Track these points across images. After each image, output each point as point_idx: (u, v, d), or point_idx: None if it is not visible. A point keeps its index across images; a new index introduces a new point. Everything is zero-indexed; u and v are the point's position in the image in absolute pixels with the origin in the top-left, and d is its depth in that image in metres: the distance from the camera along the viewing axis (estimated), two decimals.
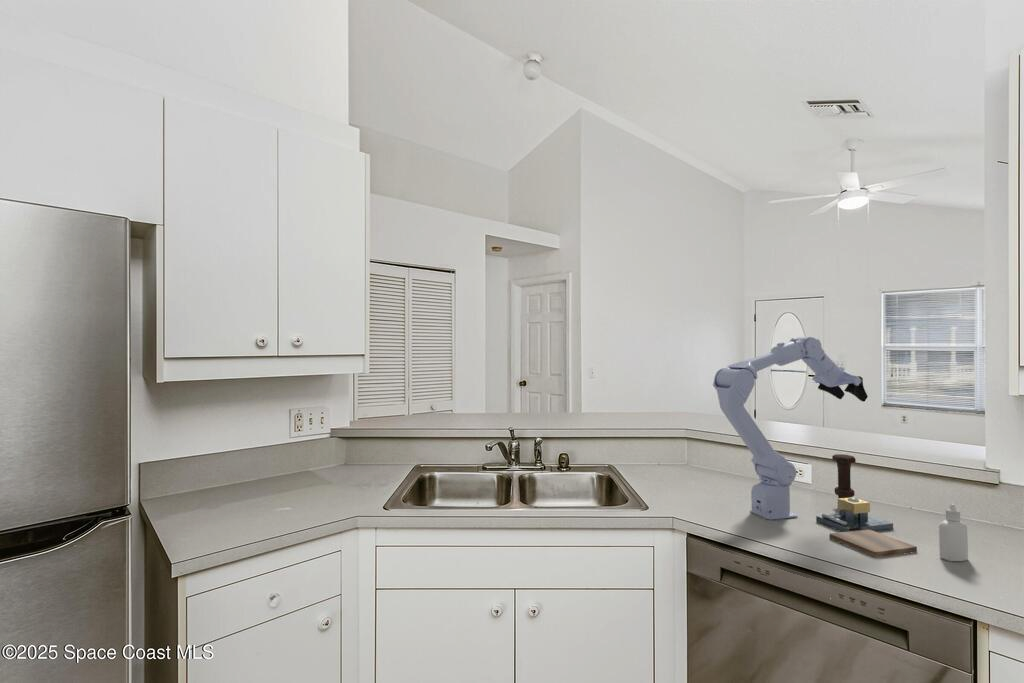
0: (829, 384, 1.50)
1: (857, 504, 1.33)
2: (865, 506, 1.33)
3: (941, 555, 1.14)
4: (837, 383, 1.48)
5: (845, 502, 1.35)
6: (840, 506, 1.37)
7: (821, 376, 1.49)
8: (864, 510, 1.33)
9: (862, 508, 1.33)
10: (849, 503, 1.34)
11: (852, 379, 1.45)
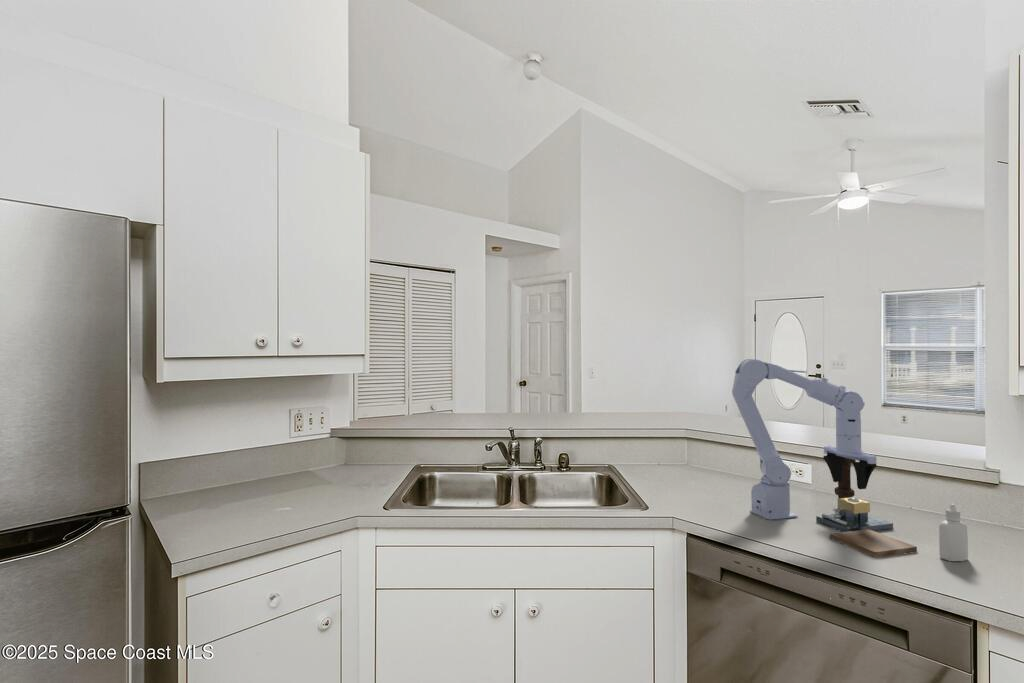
0: (841, 450, 1.39)
1: (857, 504, 1.33)
2: (865, 506, 1.33)
3: (941, 555, 1.14)
4: (850, 453, 1.37)
5: (845, 502, 1.35)
6: (840, 506, 1.37)
7: (841, 437, 1.39)
8: (864, 510, 1.33)
9: (862, 508, 1.33)
10: (849, 503, 1.34)
11: (868, 456, 1.34)
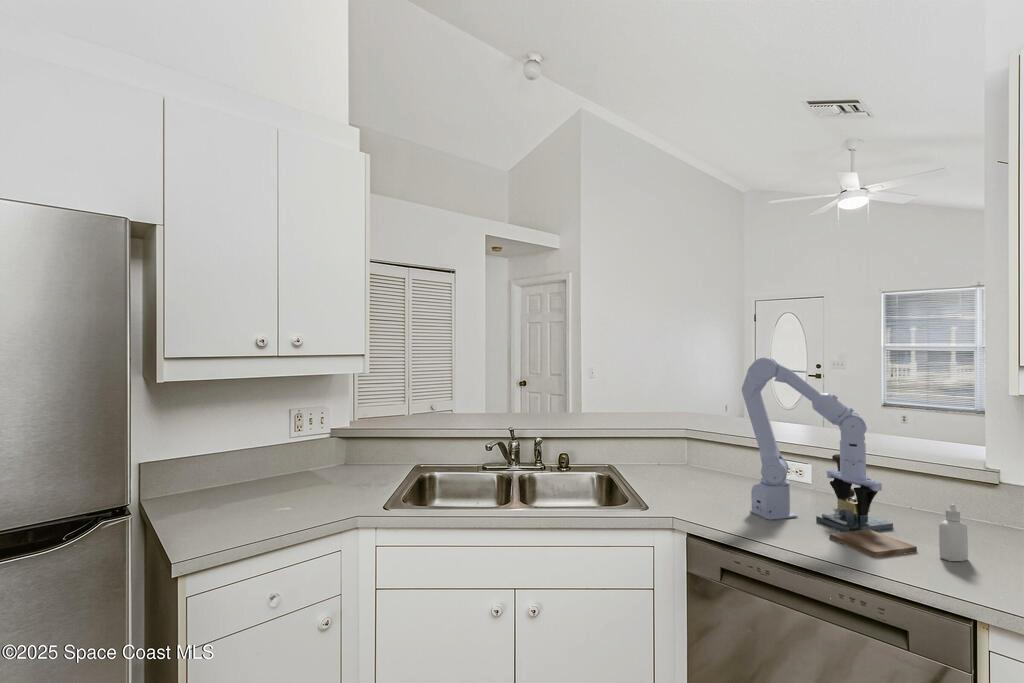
0: (845, 476, 1.35)
1: (857, 504, 1.33)
2: None
3: (941, 555, 1.14)
4: (854, 479, 1.33)
5: (845, 502, 1.35)
6: (840, 506, 1.37)
7: (845, 462, 1.35)
8: None
9: None
10: (849, 503, 1.34)
11: (873, 482, 1.30)
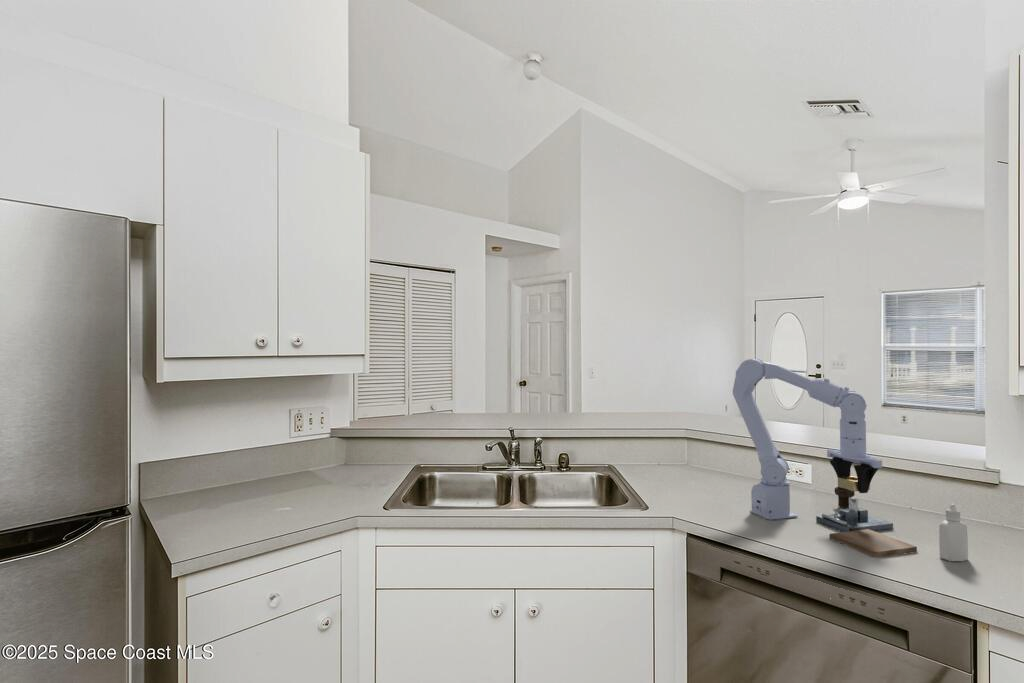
0: (846, 454, 1.34)
1: (857, 482, 1.33)
2: None
3: (941, 555, 1.14)
4: (855, 456, 1.33)
5: (845, 480, 1.35)
6: (840, 484, 1.36)
7: (845, 440, 1.34)
8: None
9: None
10: (849, 481, 1.34)
11: (874, 459, 1.30)
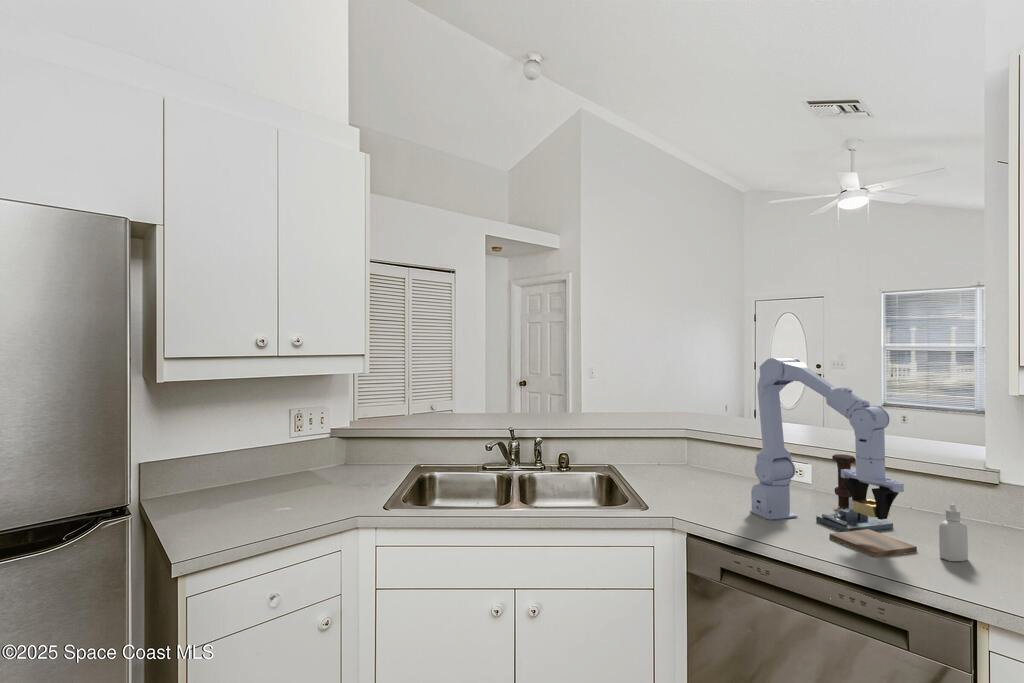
0: (862, 476, 1.21)
1: None
2: None
3: (941, 555, 1.14)
4: (873, 479, 1.19)
5: (862, 504, 1.22)
6: (856, 509, 1.23)
7: (861, 460, 1.21)
8: None
9: None
10: (867, 506, 1.20)
11: (894, 483, 1.16)
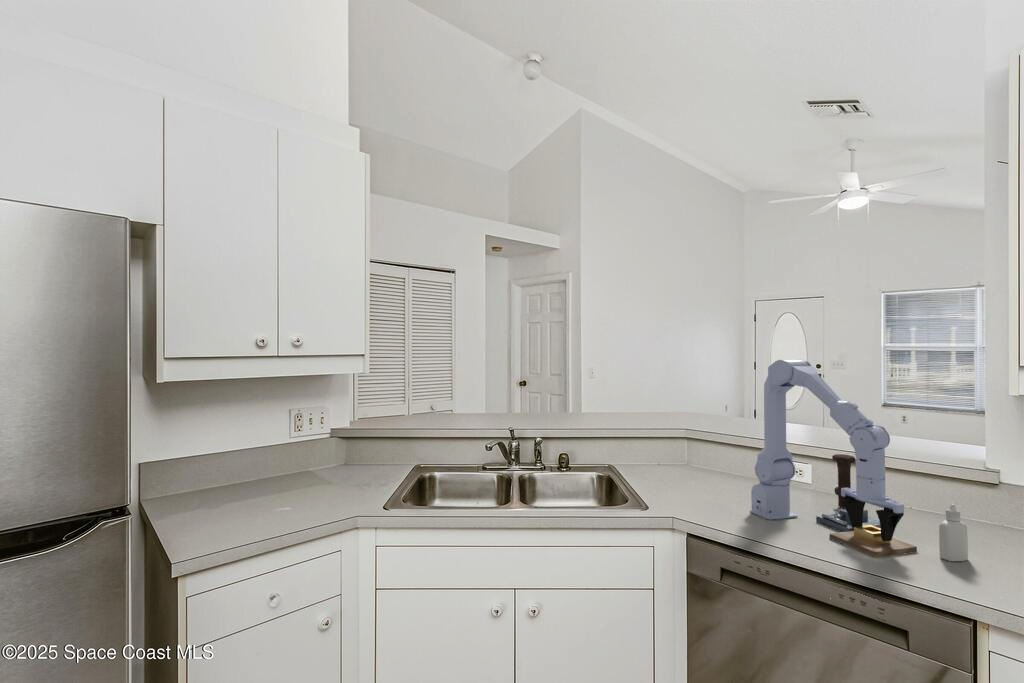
0: (862, 496, 1.21)
1: (876, 534, 1.19)
2: None
3: (941, 555, 1.14)
4: (873, 499, 1.19)
5: (862, 531, 1.21)
6: (857, 535, 1.23)
7: (862, 480, 1.21)
8: (884, 541, 1.20)
9: None
10: (867, 533, 1.20)
11: (894, 503, 1.16)
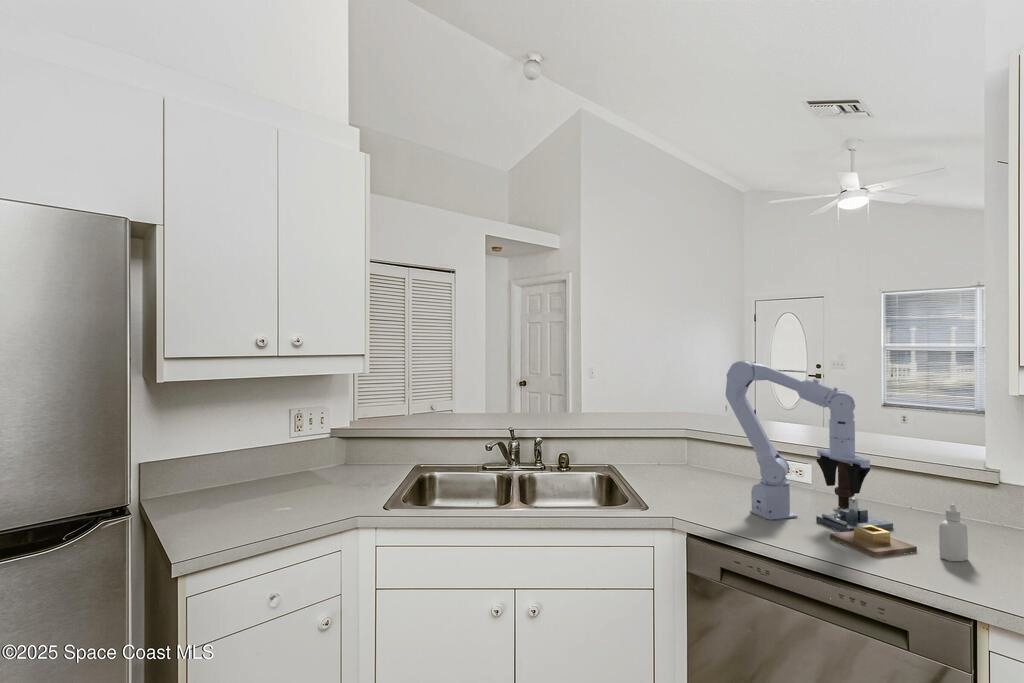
0: (834, 454, 1.35)
1: (876, 534, 1.19)
2: (885, 536, 1.20)
3: (941, 555, 1.14)
4: (843, 456, 1.34)
5: (862, 531, 1.21)
6: (857, 535, 1.23)
7: (834, 440, 1.35)
8: (884, 541, 1.20)
9: (882, 538, 1.20)
10: (867, 533, 1.20)
11: (861, 459, 1.30)
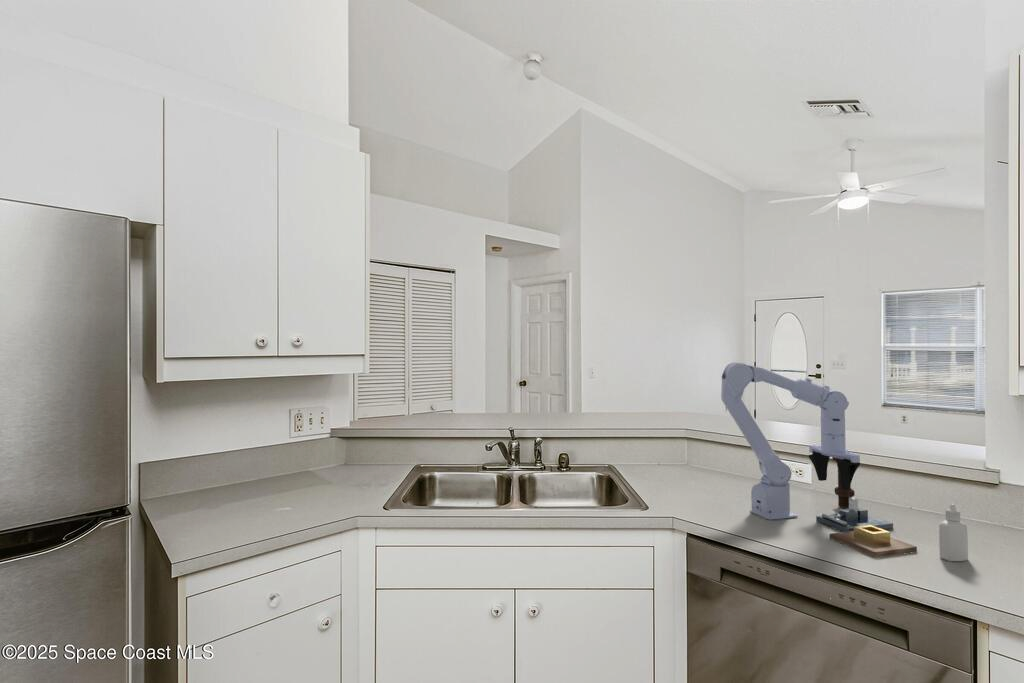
0: (826, 449, 1.41)
1: (876, 534, 1.19)
2: (885, 536, 1.20)
3: (941, 555, 1.14)
4: (834, 452, 1.39)
5: (862, 531, 1.21)
6: (857, 535, 1.23)
7: (825, 436, 1.41)
8: (884, 541, 1.20)
9: (882, 538, 1.20)
10: (867, 533, 1.20)
11: (852, 454, 1.36)
